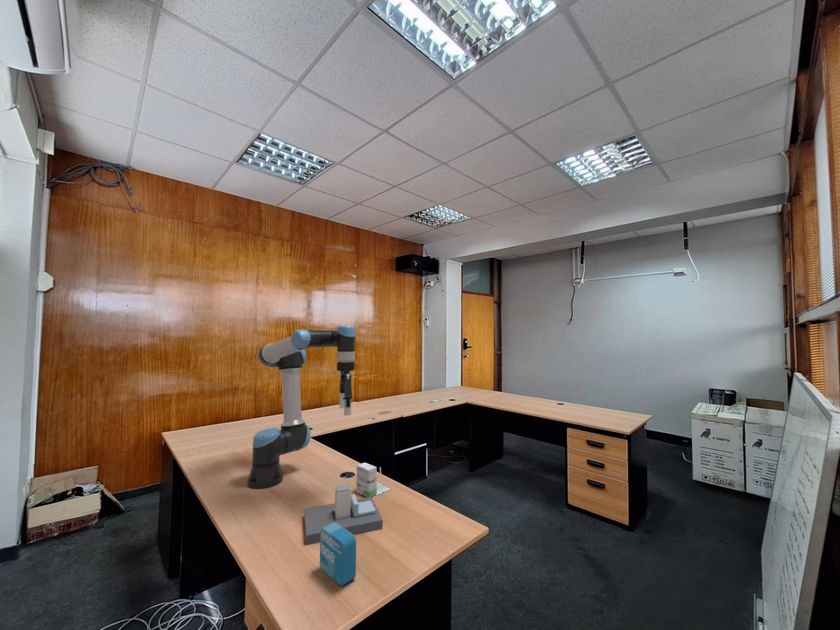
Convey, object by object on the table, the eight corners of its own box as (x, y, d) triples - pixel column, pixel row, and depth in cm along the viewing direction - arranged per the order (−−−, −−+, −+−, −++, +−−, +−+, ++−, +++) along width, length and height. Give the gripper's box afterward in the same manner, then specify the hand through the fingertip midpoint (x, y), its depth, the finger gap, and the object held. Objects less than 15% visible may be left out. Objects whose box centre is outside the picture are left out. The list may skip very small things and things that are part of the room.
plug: (334, 520, 124) (335, 485, 125) (348, 517, 126) (348, 483, 126) (336, 527, 119) (336, 491, 120) (350, 524, 121) (350, 489, 122)
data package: (319, 567, 99) (320, 526, 99) (332, 560, 102) (333, 520, 103) (342, 588, 91) (343, 543, 91) (356, 579, 94) (356, 536, 95)
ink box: (377, 494, 144) (377, 466, 145) (368, 498, 140) (368, 470, 141) (364, 488, 149) (364, 461, 150) (355, 492, 146) (356, 464, 146)
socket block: (304, 516, 126) (304, 508, 126) (371, 504, 135) (371, 496, 136) (306, 544, 109) (306, 535, 110) (382, 528, 119) (382, 519, 119)
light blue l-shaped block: (350, 506, 128) (350, 494, 128) (371, 502, 131) (371, 491, 131) (354, 516, 120) (354, 504, 120) (375, 512, 123) (375, 500, 123)
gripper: (333, 359, 153) (332, 405, 151) (340, 364, 129) (339, 419, 128) (350, 358, 155) (349, 404, 154) (360, 363, 132) (359, 417, 131)
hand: (345, 411), depth 141 cm, fingers open, 13 cm apart
